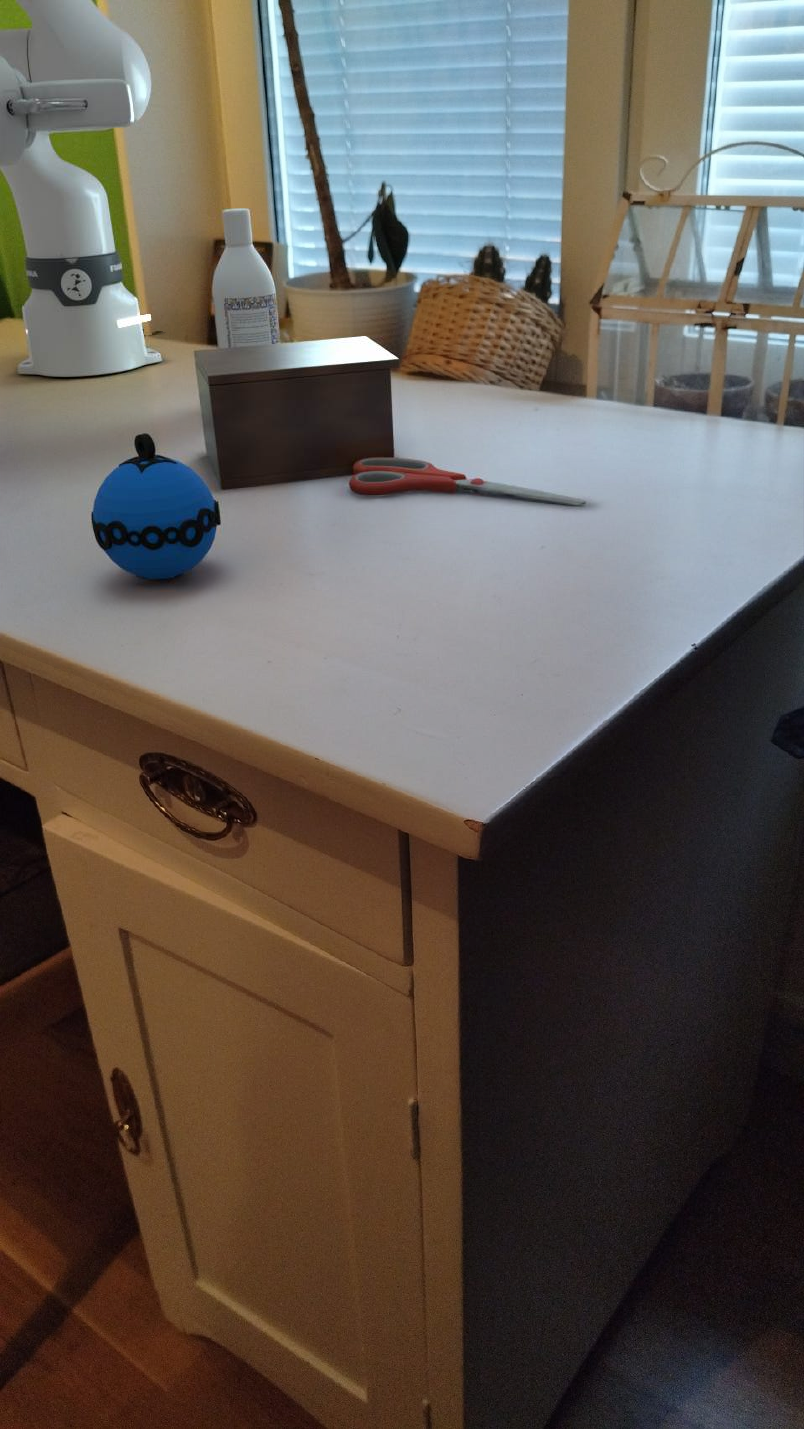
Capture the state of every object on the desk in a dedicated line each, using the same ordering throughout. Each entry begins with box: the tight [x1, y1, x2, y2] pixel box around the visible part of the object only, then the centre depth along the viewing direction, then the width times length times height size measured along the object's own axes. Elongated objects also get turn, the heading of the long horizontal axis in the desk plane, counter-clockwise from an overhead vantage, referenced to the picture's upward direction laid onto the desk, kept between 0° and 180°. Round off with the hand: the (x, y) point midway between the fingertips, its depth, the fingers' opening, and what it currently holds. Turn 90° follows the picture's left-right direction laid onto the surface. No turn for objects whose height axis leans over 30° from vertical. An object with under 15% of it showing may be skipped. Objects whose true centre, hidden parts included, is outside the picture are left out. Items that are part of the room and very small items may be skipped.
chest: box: [194, 360, 395, 491], centre depth 100 cm, size 16×13×9 cm
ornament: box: [90, 432, 222, 581], centre depth 75 cm, size 9×9×10 cm
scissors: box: [348, 457, 587, 506], centre depth 93 cm, size 8×21×2 cm, turn 74°
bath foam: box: [211, 208, 281, 349], centre depth 122 cm, size 7×7×20 cm
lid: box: [193, 335, 400, 385], centre depth 98 cm, size 16×13×1 cm
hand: (120, 106), depth 104 cm, fingers closed
